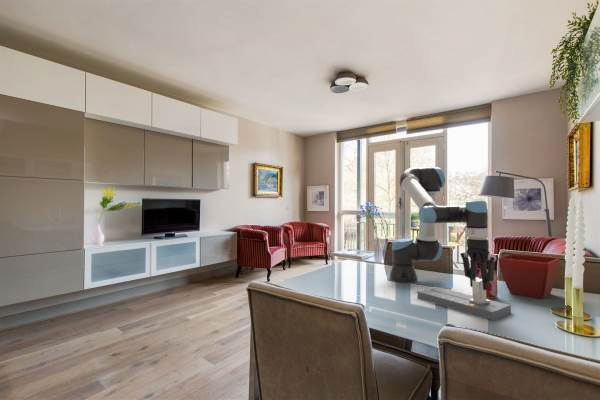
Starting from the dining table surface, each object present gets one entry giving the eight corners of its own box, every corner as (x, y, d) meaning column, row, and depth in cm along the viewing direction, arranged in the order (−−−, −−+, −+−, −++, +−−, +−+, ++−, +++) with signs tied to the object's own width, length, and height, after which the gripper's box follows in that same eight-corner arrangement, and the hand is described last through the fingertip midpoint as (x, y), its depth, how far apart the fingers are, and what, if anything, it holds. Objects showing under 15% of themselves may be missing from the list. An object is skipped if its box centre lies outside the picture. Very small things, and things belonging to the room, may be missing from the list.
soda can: (499, 296, 133) (498, 270, 133) (496, 300, 128) (495, 273, 128) (481, 293, 138) (480, 268, 138) (477, 297, 133) (477, 270, 133)
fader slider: (477, 299, 120) (476, 277, 120) (490, 302, 115) (489, 280, 116) (469, 302, 117) (468, 279, 117) (482, 305, 112) (481, 282, 113)
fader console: (436, 292, 140) (435, 286, 140) (510, 312, 113) (510, 304, 113) (417, 297, 133) (417, 290, 133) (492, 320, 105) (492, 311, 106)
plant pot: (513, 285, 150) (511, 253, 150) (561, 294, 135) (559, 257, 135) (498, 292, 139) (497, 257, 139) (549, 302, 123) (548, 263, 124)
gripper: (453, 237, 121) (455, 293, 121) (493, 240, 108) (495, 303, 108) (463, 236, 125) (465, 290, 125) (503, 239, 112) (505, 300, 111)
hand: (479, 296), depth 116 cm, fingers closed on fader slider, 2 cm apart
